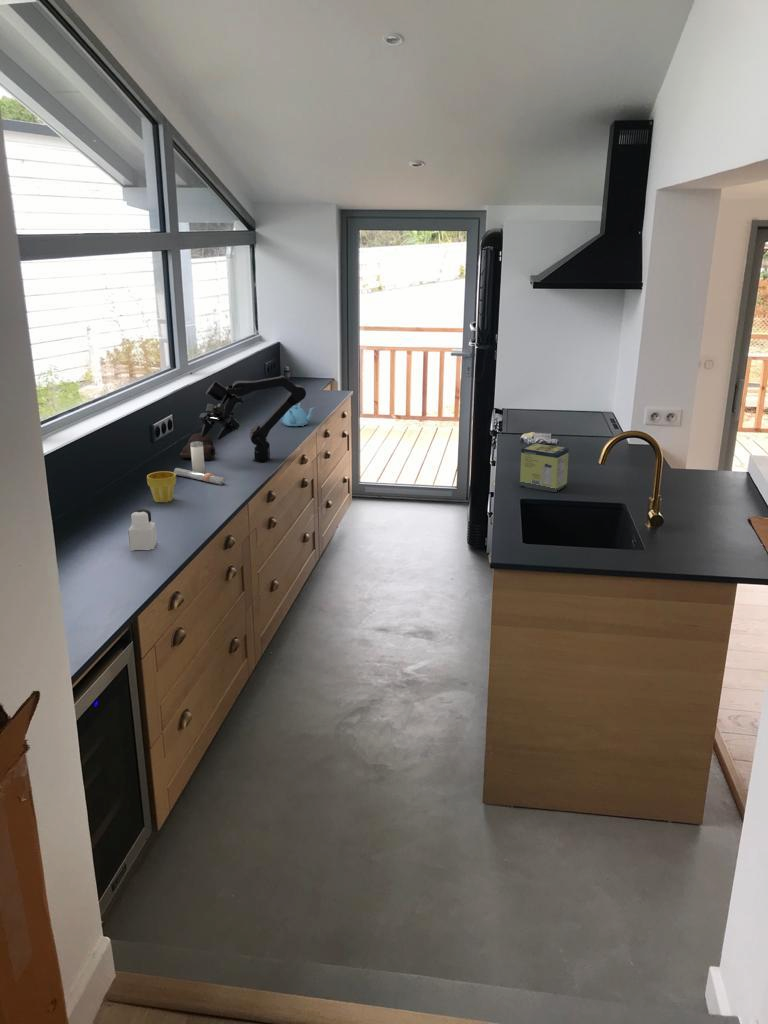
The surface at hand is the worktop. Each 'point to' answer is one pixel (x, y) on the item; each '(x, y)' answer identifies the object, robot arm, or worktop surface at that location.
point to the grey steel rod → (200, 476)
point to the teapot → (296, 416)
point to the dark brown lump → (207, 446)
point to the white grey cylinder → (197, 457)
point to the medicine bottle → (142, 531)
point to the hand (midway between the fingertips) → (210, 437)
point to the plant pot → (162, 485)
